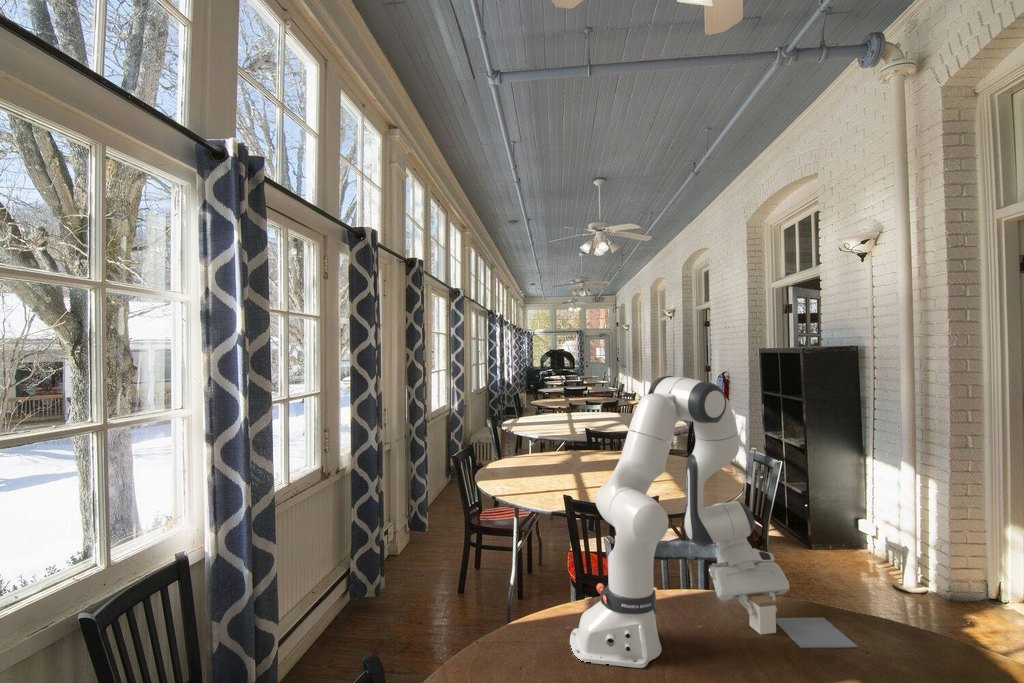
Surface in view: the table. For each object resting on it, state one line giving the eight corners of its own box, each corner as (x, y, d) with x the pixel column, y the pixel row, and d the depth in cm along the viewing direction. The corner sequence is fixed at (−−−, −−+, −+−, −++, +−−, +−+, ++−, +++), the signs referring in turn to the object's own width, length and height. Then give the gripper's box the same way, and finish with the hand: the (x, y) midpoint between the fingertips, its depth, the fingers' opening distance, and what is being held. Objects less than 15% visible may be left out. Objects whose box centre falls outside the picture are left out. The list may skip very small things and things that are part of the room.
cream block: (760, 634, 134) (759, 603, 134) (749, 625, 138) (748, 595, 139) (776, 632, 135) (775, 601, 135) (764, 623, 139) (764, 593, 139)
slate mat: (800, 648, 128) (800, 646, 128) (772, 619, 142) (772, 618, 142) (857, 647, 128) (857, 646, 128) (823, 618, 142) (823, 617, 142)
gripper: (710, 559, 142) (732, 612, 132) (777, 553, 146) (803, 605, 136) (702, 569, 146) (722, 621, 137) (767, 563, 150) (792, 614, 140)
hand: (763, 613), depth 136 cm, fingers closed on cream block, 4 cm apart
